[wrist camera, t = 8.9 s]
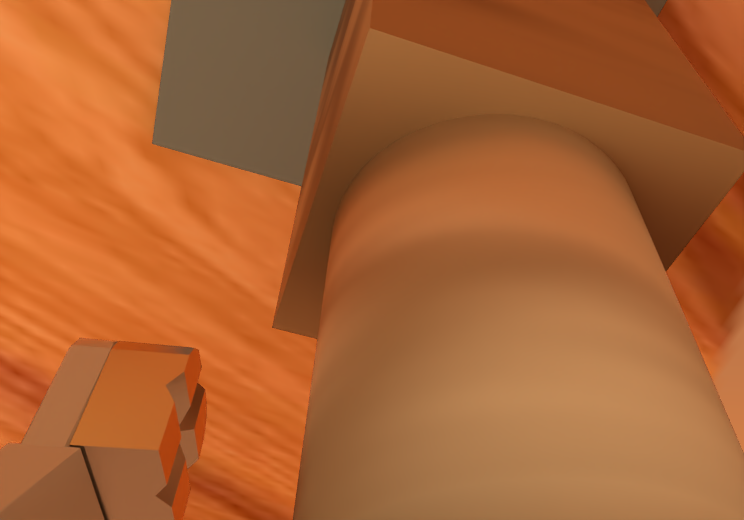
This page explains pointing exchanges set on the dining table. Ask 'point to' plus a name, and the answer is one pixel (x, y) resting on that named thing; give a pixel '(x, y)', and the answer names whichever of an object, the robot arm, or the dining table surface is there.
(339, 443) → the birch round
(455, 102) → the tower top
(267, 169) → the felt mat
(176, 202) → the dining table surface
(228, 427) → the dining table surface
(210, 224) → the dining table surface
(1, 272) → the dining table surface
